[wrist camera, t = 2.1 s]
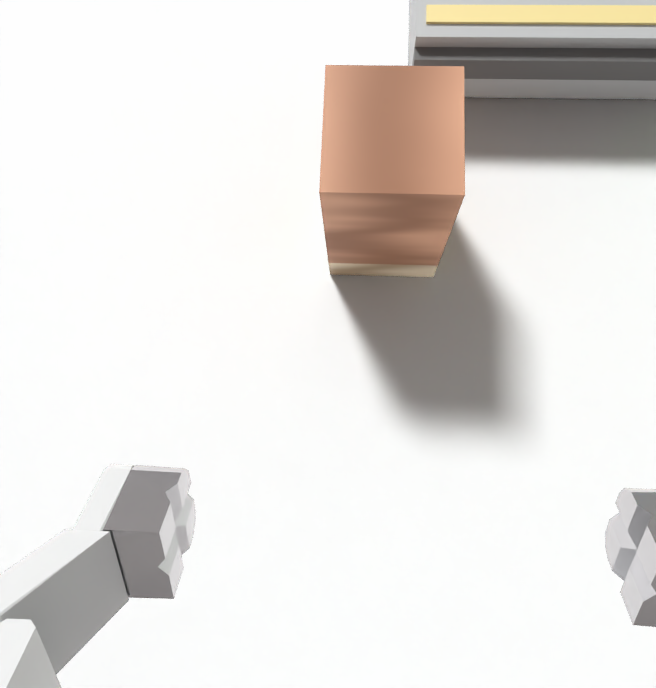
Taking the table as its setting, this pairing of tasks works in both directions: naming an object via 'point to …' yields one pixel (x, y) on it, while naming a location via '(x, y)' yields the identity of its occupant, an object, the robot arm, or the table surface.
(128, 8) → the table surface
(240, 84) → the table surface
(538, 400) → the table surface
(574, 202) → the table surface
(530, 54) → the dock
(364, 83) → the copper brown block
